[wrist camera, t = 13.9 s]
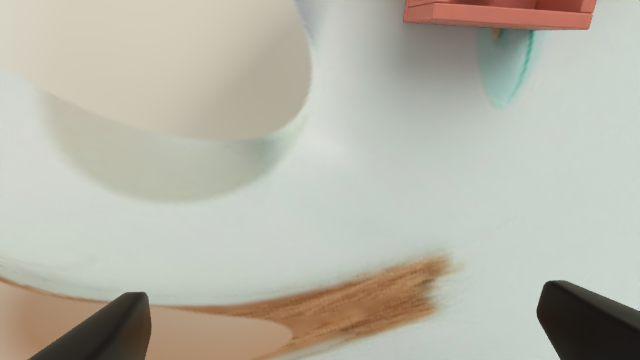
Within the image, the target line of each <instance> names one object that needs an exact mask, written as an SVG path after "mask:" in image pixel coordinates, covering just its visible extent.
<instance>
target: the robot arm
mask: <svg viewBox="0 0 640 360" xmlns="http://www.w3.org/2000/svg"><path fill="white" fill-rule="evenodd" d="M537 317H538V320H539V322H540V324H541V326H542V327H543V329H544V331H545V333H546V334H547V336H548V338H549V340H550V342H551V343H552V345H553V347H554V349H555V350H556V352H557V354H558V356H559V358H560V359H561V360H640V311H638V310H635V309H633V308H630V307H628V306H626V305H623V304H621V303H618V302H616V301H614V300H611V299H609V298H606V297H604V296H601V295H599V294H597V293H594V292H592V291H589V290H587V289H585V288H582V287H580V286H577V285H575V284H572V283H570V282H568V281H563V280H558V281H548V282H546V283H545V284H544V286H543V289H542V293H541V296H540V300H539V303H538V306H537ZM150 336H151V317H150V308H149V300H148V296H147V294H146V293H145V292H127V293H124V294H122V295H121V296H119V297H118V298H117V299H115V300H114V301H112V302H111V303H109V304H108V305H106V306H105V307H103V308H102V309H101V310H99V311H98V312H96V313H95V314H93V315H92V316H91V317H89V318H88V319H86V320H85V321H83V322H82V323H80V324H79V325H77V326H76V327H74V328H73V329H72V330H70V331H69V332H67V333H66V334H64V335H63V336H62V337H60V338H59V339H57V340H56V341H54V342H53V343H51V344H50V345H49V346H47V347H46V348H44V349H43V350H41V351H40V352H38V353H37V354H35V355H34V356H32V357H31V358H30V359H28V360H145V356H146V352H147V348H148V344H149V340H150Z"/></svg>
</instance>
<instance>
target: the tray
mask: <svg viewBox="0 0 640 360" xmlns="http://www.w3.org/2000/svg"><path fill="white" fill-rule="evenodd" d="M595 4H596V0H406V3H405V12H404V20H403V21H404V22H410V23H426V24H442V25H458V26H474V27H490V28H505V29H521V30H587V29H589V27H590V23H591V19H592V16H593V15H592V14H591V13H593V11H594V8H595Z"/></svg>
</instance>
